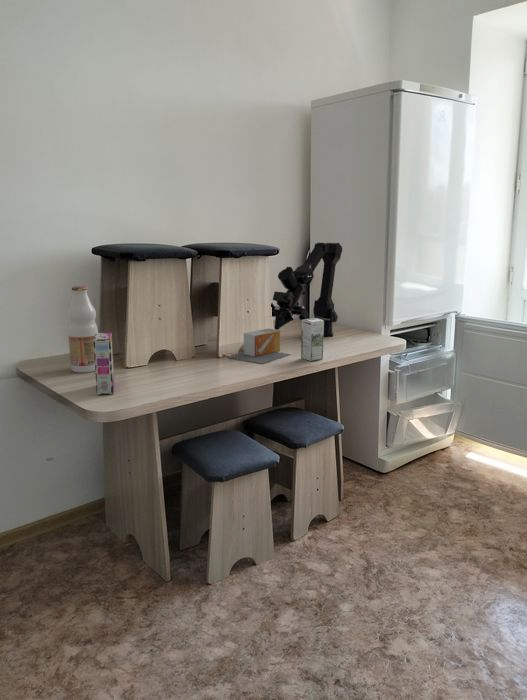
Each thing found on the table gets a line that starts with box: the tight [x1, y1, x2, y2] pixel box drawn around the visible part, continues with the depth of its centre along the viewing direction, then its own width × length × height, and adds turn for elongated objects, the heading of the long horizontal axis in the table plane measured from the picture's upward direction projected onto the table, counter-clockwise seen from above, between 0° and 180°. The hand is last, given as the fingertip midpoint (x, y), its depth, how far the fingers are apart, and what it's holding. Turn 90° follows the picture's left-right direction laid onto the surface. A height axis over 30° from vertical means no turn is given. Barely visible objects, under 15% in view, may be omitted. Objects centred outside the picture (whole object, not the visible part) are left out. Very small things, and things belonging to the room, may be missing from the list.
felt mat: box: [227, 351, 291, 365], centre depth 209 cm, size 17×16×1 cm
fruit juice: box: [66, 285, 99, 374], centre depth 189 cm, size 9×9×28 cm
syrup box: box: [300, 317, 324, 362], centre depth 203 cm, size 6×6×14 cm
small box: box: [243, 328, 281, 357], centre depth 213 cm, size 8×6×13 cm
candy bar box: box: [93, 332, 115, 396], centre depth 168 cm, size 11×5×16 cm, turn 13°
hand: (275, 329), depth 216 cm, fingers closed
